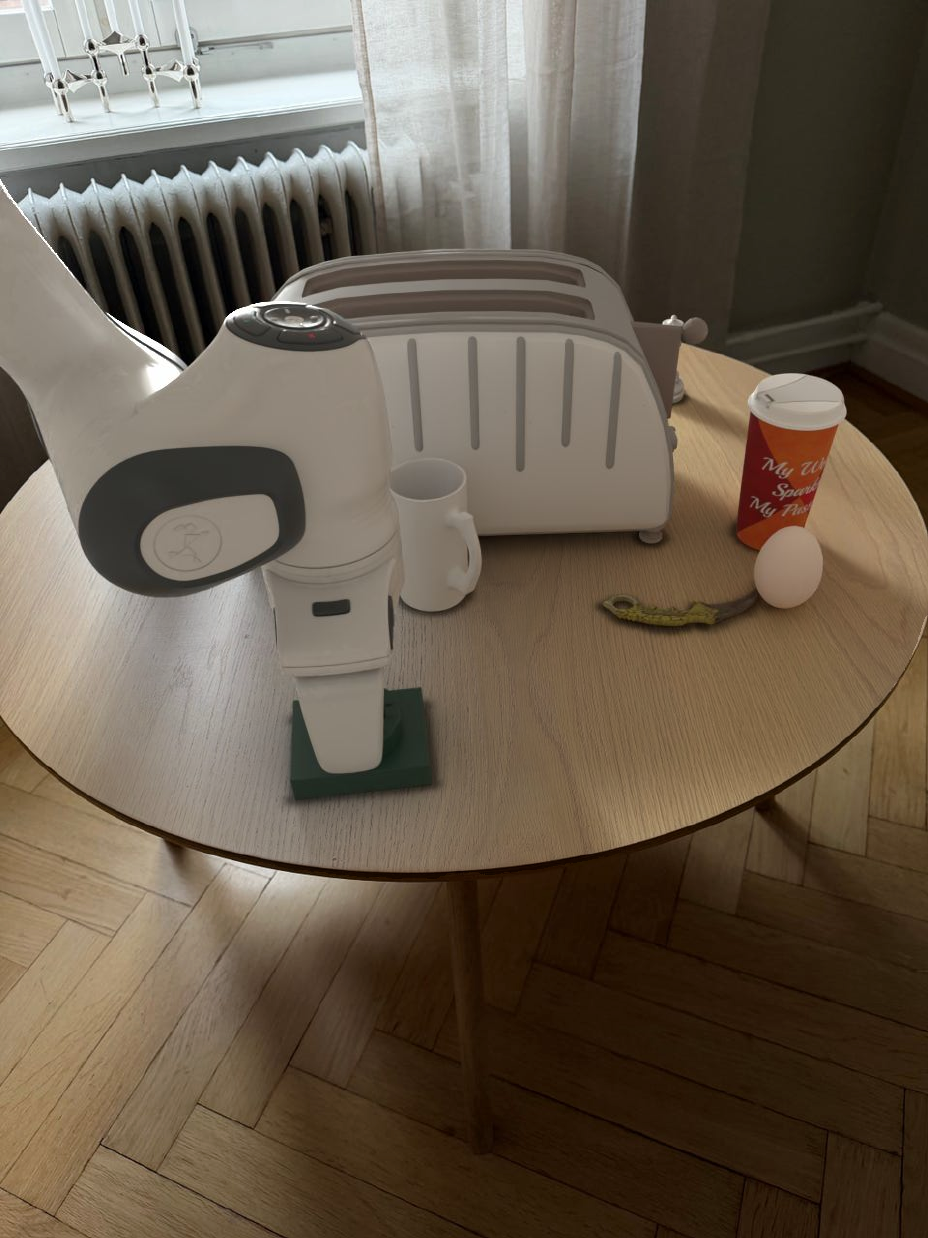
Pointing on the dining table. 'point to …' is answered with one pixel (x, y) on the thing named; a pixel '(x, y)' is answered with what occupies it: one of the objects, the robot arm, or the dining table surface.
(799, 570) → the egg
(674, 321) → the chess piece
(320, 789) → the button box
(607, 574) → the dining table surface
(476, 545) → the mug
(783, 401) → the coffee cup
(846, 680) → the dining table surface
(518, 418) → the toaster
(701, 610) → the knife
